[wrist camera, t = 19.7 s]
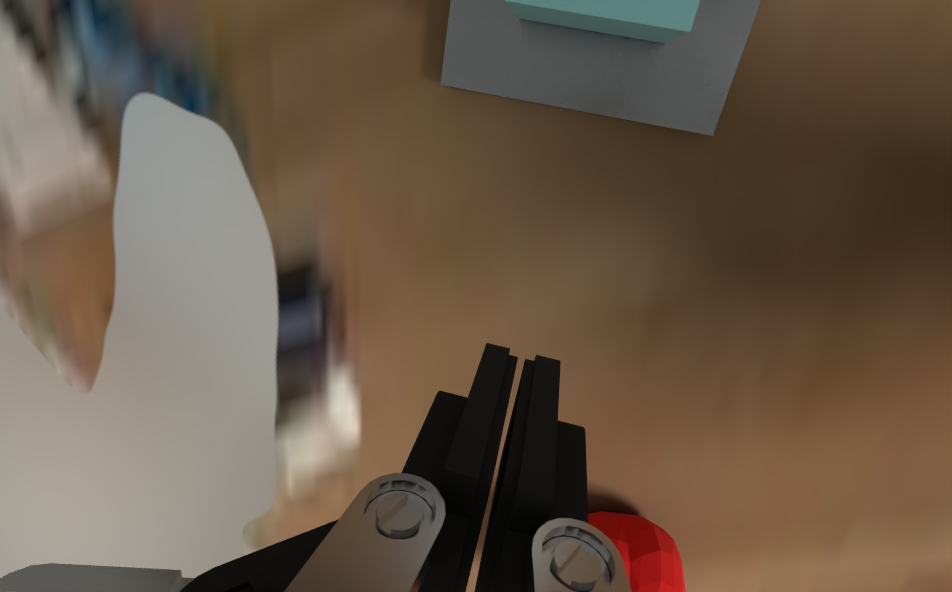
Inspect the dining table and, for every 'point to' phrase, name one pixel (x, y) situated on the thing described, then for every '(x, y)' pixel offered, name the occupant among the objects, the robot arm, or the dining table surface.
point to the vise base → (600, 63)
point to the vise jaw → (614, 16)
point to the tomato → (643, 551)
